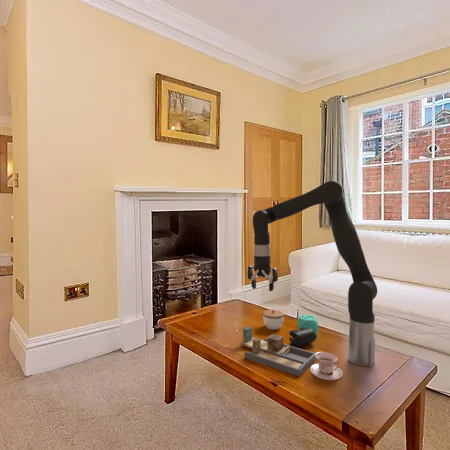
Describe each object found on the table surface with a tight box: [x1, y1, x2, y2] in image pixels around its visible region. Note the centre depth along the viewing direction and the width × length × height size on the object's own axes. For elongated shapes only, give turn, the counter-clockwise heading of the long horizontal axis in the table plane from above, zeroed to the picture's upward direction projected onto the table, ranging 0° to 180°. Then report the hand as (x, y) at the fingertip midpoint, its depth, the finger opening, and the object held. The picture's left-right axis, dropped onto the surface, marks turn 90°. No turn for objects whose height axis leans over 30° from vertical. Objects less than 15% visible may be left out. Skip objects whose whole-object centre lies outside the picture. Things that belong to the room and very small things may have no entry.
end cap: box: [288, 327, 317, 348], centre depth 143 cm, size 10×7×7 cm
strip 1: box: [240, 326, 291, 355], centre depth 138 cm, size 20×8×6 cm, turn 54°
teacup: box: [309, 351, 344, 381], centre depth 120 cm, size 12×12×6 cm
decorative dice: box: [297, 314, 319, 335], centre depth 156 cm, size 8×8×8 cm
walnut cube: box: [266, 333, 284, 352], centre depth 135 cm, size 5×5×5 cm
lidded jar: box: [262, 309, 285, 331], centre depth 163 cm, size 11×11×9 cm
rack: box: [244, 338, 317, 377], centre depth 130 cm, size 24×17×2 cm
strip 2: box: [252, 337, 302, 369], centre depth 126 cm, size 20×5×6 cm, turn 54°
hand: (262, 289), depth 144 cm, fingers open, 8 cm apart
